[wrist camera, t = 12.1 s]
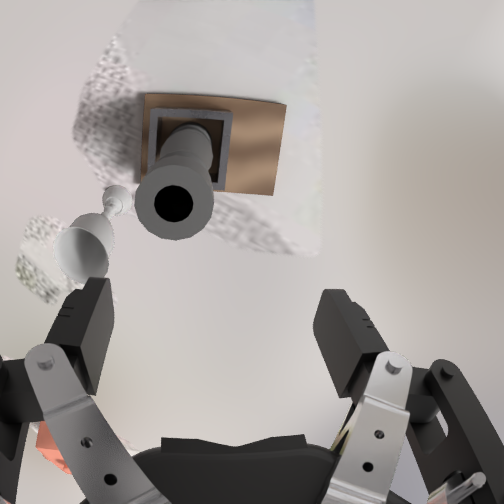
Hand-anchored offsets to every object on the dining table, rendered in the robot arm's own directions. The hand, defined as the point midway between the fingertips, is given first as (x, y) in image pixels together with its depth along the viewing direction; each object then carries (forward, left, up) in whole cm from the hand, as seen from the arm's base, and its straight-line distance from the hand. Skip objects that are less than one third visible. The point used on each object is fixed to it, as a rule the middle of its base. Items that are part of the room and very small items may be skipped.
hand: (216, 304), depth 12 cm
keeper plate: (+1, 0, -39) cm, 39 cm away
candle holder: (+1, -3, -37) cm, 37 cm away
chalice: (+10, -14, -39) cm, 42 cm away
